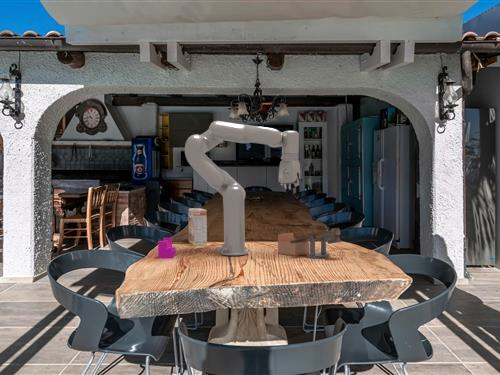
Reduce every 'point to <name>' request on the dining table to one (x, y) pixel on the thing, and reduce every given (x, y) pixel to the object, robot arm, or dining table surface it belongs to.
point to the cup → (292, 245)
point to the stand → (312, 249)
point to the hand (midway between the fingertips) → (289, 198)
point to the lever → (321, 236)
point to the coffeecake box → (197, 226)
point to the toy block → (166, 249)
